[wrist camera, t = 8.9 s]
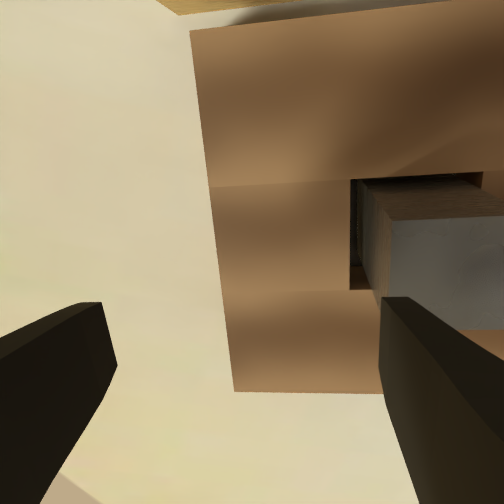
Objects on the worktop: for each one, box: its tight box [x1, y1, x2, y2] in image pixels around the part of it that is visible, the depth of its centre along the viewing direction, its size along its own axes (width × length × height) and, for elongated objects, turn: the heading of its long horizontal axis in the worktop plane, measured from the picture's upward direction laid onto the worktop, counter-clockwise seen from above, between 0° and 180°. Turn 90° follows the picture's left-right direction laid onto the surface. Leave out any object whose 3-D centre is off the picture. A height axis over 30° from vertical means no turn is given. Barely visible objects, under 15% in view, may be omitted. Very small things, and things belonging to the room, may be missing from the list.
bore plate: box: [190, 0, 504, 394], centre depth 17 cm, size 16×16×2 cm
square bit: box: [357, 173, 504, 330], centre depth 14 cm, size 4×4×7 cm
